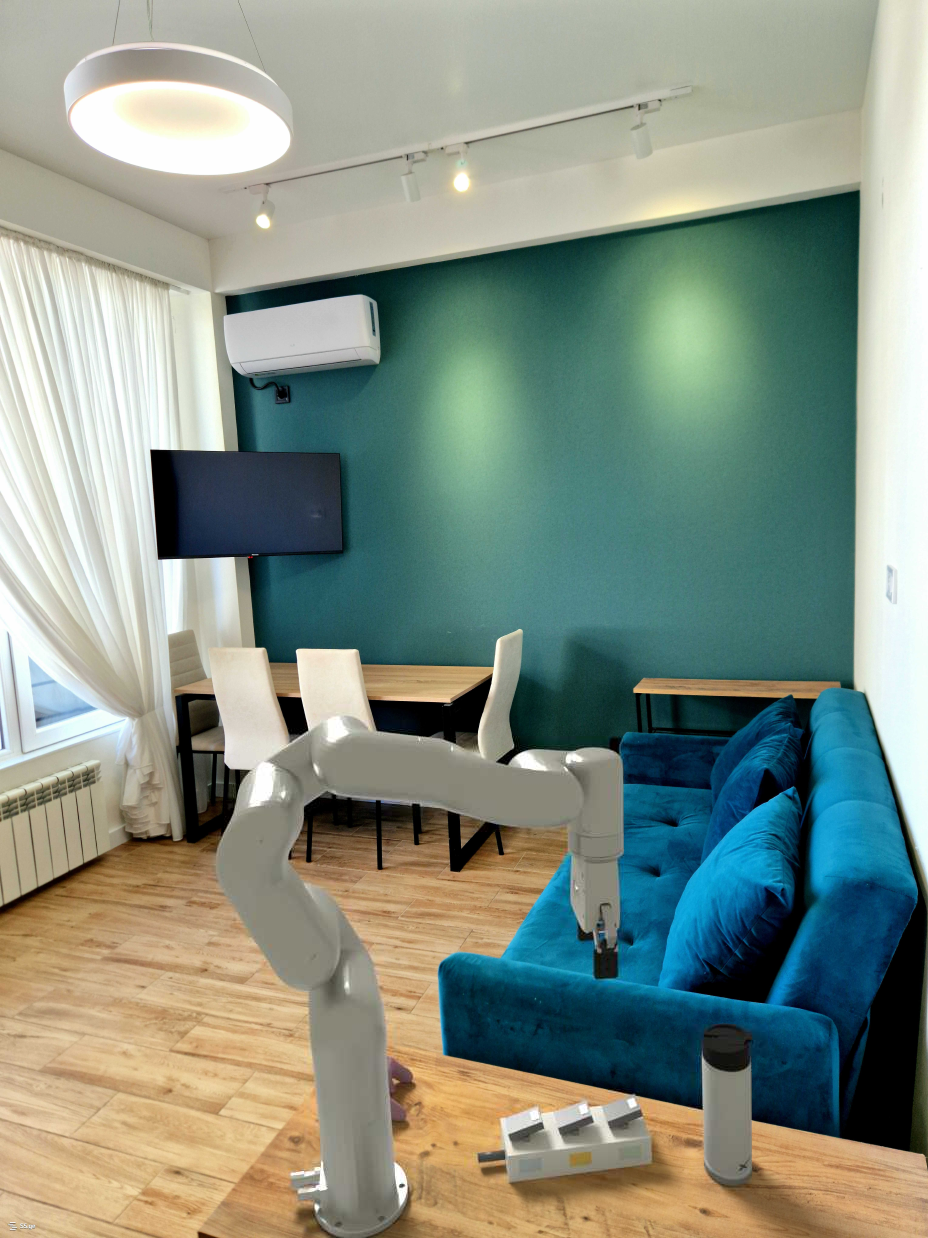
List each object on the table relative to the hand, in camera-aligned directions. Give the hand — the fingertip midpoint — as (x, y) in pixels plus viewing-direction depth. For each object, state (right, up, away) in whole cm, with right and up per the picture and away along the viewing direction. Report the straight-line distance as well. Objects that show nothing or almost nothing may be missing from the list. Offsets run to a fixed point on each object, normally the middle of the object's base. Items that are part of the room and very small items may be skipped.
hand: (596, 958), depth 113 cm
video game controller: (-30, -29, +15) cm, 44 cm away
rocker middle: (-3, -23, +1) cm, 23 cm away
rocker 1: (-10, -24, +1) cm, 26 cm away
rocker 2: (+4, -23, +2) cm, 23 cm away
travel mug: (+18, -28, -2) cm, 33 cm away
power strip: (-5, -29, +2) cm, 29 cm away
